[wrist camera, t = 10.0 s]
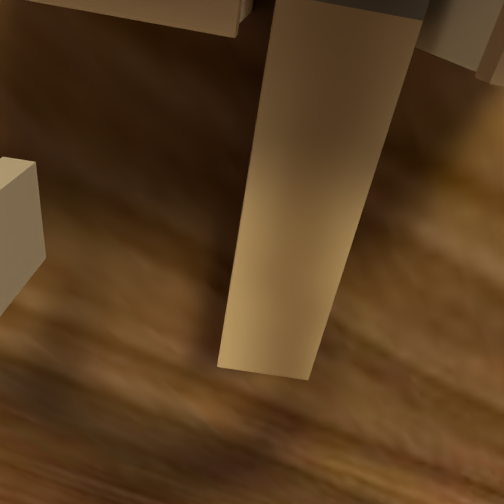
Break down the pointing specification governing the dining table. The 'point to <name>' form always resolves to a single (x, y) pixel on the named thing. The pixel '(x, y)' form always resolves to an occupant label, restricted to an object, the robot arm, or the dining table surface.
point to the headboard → (429, 40)
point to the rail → (311, 171)
